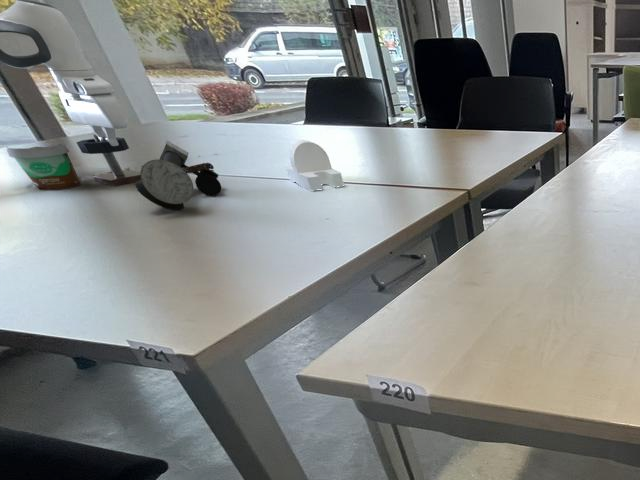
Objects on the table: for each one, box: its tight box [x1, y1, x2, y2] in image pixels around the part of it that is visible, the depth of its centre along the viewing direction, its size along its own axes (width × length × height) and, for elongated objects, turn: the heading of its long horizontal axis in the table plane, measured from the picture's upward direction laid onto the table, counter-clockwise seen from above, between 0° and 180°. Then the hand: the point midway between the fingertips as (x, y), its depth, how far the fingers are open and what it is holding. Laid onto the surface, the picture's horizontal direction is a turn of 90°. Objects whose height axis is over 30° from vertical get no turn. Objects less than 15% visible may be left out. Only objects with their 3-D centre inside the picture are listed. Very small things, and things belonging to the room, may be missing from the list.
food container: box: [6, 142, 82, 191], centre depth 136 cm, size 12×6×10 cm, turn 129°
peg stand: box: [92, 133, 141, 186], centre depth 143 cm, size 9×9×12 cm
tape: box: [76, 136, 130, 155], centre depth 141 cm, size 10×10×2 cm
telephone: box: [134, 140, 222, 212], centre depth 130 cm, size 15×13×30 cm
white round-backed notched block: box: [285, 139, 345, 191], centre depth 146 cm, size 10×18×11 cm, turn 44°
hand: (110, 145), depth 140 cm, fingers closed on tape, 2 cm apart
